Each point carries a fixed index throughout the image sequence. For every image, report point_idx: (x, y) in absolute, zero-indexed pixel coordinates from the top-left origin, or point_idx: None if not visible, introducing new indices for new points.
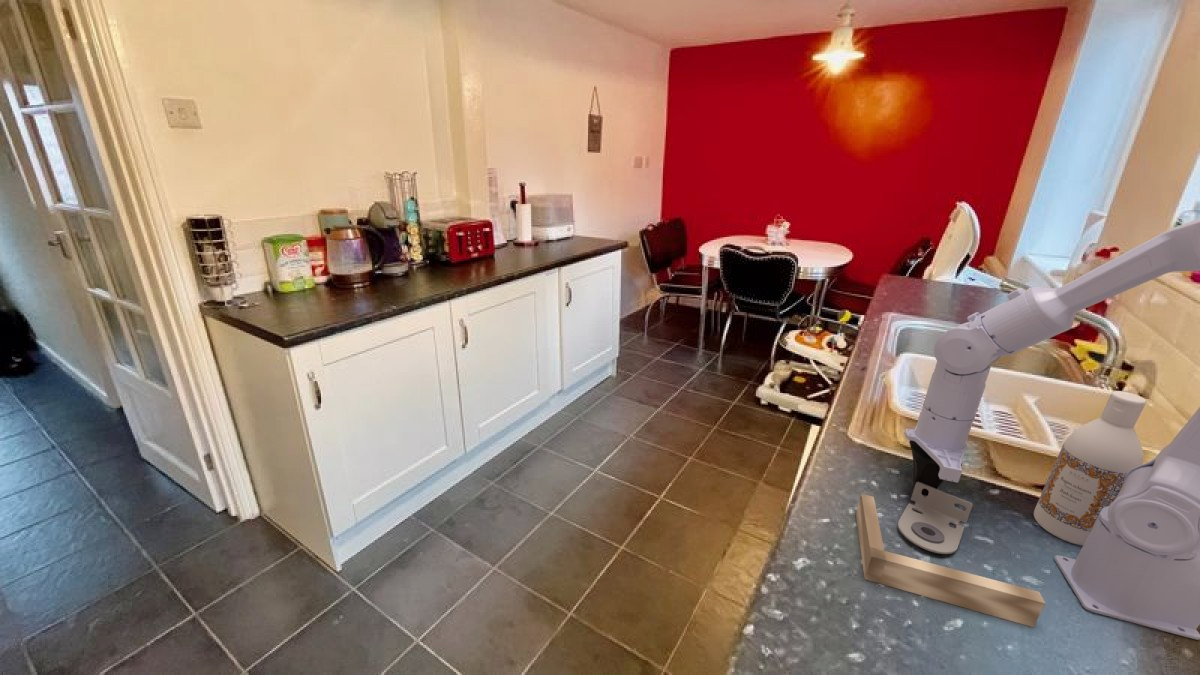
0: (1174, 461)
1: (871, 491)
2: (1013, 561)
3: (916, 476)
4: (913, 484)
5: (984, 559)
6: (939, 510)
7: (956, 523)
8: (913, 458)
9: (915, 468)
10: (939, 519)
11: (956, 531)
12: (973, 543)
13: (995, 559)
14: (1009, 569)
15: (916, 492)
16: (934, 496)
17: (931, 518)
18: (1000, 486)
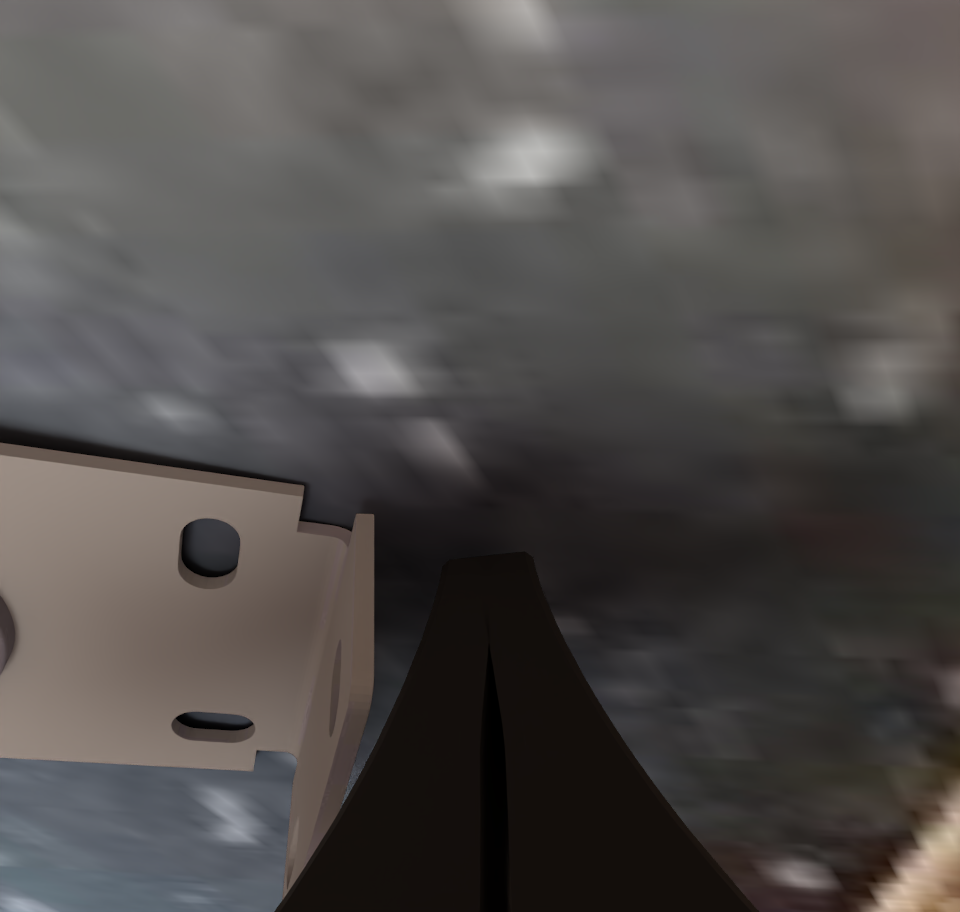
0: None
1: (310, 133)
2: (125, 885)
3: (384, 735)
4: (485, 594)
5: (13, 808)
6: (316, 686)
7: (255, 742)
8: (601, 858)
9: (443, 797)
10: (216, 671)
11: (140, 742)
12: (131, 781)
13: (66, 840)
14: (33, 871)
15: (349, 610)
16: (319, 743)
17: (180, 632)
18: (869, 895)
